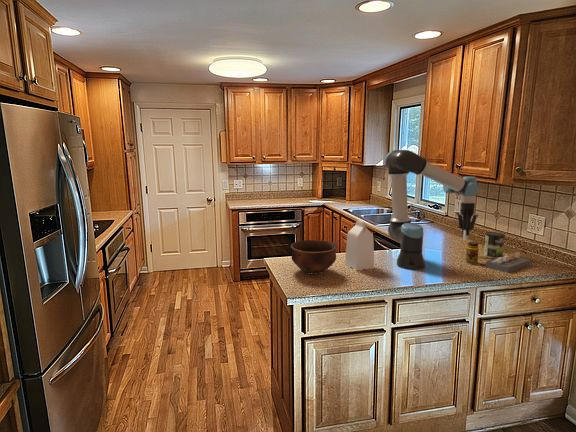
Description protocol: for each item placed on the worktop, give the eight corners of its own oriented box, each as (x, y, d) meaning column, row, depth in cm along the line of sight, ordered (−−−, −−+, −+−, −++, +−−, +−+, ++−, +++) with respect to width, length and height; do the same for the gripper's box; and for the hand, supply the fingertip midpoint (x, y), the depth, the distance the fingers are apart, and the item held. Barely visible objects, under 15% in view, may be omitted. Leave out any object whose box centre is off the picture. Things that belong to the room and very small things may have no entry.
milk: (345, 264, 214) (345, 220, 209) (362, 262, 218) (363, 218, 213) (356, 270, 203) (357, 224, 198) (374, 268, 207) (375, 222, 202)
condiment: (467, 264, 211) (469, 244, 209) (461, 260, 220) (463, 240, 217) (480, 265, 211) (482, 244, 209) (474, 260, 219) (476, 240, 217)
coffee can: (507, 257, 224) (509, 234, 221) (493, 259, 221) (495, 236, 218) (493, 253, 233) (495, 231, 231) (479, 254, 231) (481, 232, 228)
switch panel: (507, 272, 197) (508, 267, 197) (485, 266, 207) (485, 261, 207) (530, 264, 210) (530, 259, 209) (508, 259, 220) (508, 254, 219)
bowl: (287, 278, 192) (287, 250, 189) (293, 264, 216) (293, 238, 213) (336, 280, 188) (336, 251, 186) (336, 265, 213) (337, 239, 210)
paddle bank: (499, 264, 202) (500, 258, 201) (496, 263, 203) (497, 258, 202) (519, 257, 213) (520, 252, 212) (517, 257, 214) (517, 252, 213)
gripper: (482, 203, 221) (478, 241, 225) (462, 200, 232) (459, 237, 236) (474, 204, 217) (471, 243, 221) (454, 201, 228) (451, 238, 232)
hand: (465, 240), depth 229 cm, fingers closed
